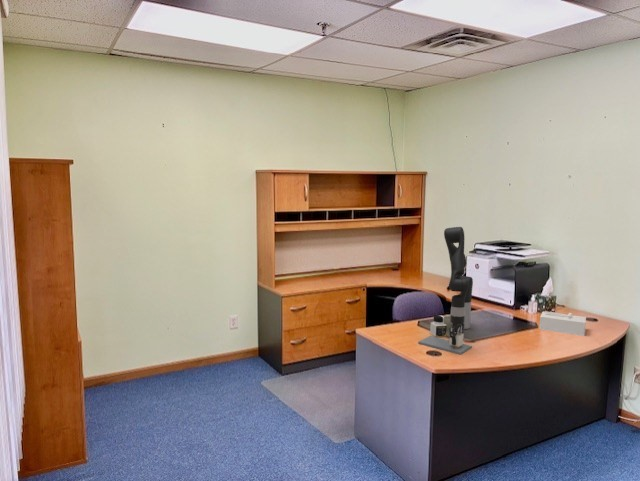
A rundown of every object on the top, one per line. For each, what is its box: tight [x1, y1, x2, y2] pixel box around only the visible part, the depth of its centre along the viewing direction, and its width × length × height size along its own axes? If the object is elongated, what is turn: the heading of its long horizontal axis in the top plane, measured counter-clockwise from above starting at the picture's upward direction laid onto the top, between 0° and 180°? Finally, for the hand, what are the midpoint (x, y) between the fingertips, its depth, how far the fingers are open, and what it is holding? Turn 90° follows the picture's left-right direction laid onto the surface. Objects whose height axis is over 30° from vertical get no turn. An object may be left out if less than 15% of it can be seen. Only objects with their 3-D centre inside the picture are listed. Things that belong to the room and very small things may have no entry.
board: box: [417, 335, 473, 355], centre depth 271 cm, size 14×26×6 cm, turn 48°
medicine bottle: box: [429, 314, 448, 338], centre depth 289 cm, size 7×7×12 cm
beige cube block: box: [448, 332, 465, 347], centre depth 266 cm, size 6×6×6 cm
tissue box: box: [539, 310, 587, 337], centre depth 302 cm, size 14×25×11 cm, turn 59°
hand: (456, 343), depth 266 cm, fingers closed on beige cube block, 5 cm apart
